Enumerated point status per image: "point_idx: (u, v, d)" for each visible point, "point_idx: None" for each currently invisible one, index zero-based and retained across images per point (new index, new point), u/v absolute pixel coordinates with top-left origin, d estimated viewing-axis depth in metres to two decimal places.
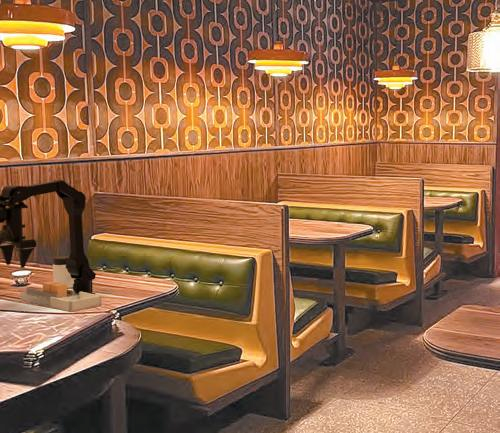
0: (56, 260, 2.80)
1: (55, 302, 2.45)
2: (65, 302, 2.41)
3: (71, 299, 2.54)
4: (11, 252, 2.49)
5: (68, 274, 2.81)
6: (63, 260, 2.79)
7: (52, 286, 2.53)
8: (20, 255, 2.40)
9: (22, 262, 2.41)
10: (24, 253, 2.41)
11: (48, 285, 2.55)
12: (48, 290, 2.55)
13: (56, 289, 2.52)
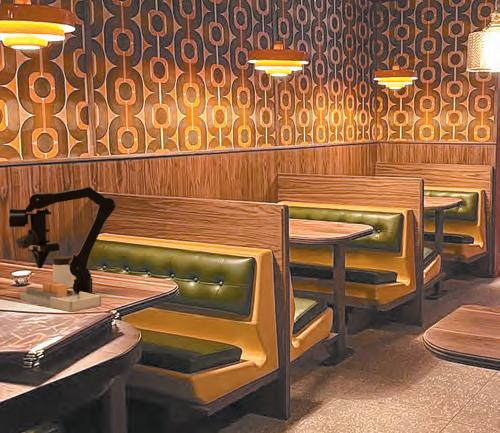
0: (56, 260, 2.80)
1: (55, 302, 2.45)
2: (65, 302, 2.41)
3: (71, 299, 2.54)
4: None
5: (68, 274, 2.81)
6: (63, 260, 2.79)
7: (52, 286, 2.53)
8: (38, 256, 2.60)
9: (40, 263, 2.61)
10: (41, 255, 2.61)
11: (48, 285, 2.55)
12: (48, 290, 2.55)
13: (56, 289, 2.52)
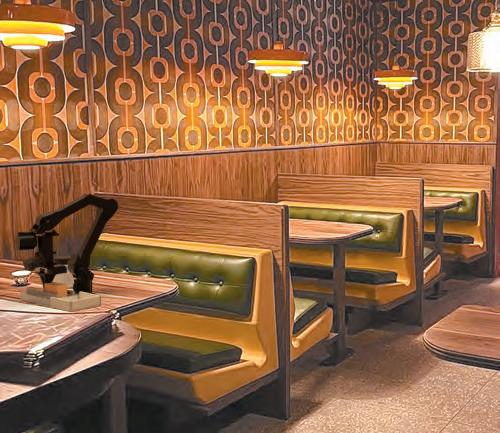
0: (56, 260, 2.80)
1: (55, 302, 2.45)
2: (65, 302, 2.41)
3: (71, 299, 2.54)
4: None
5: (68, 274, 2.81)
6: (63, 260, 2.79)
7: (52, 286, 2.53)
8: (45, 279, 2.57)
9: None
10: (48, 277, 2.58)
11: (49, 285, 2.54)
12: (49, 290, 2.54)
13: (56, 289, 2.52)
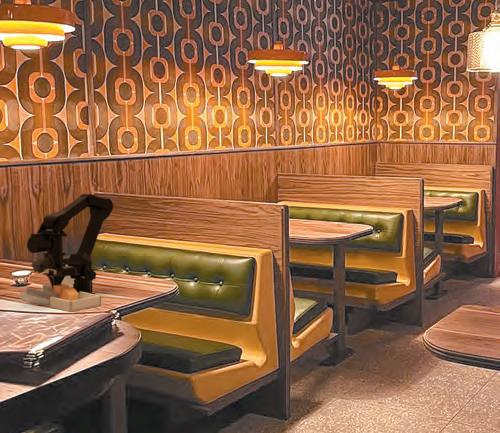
0: None
1: (55, 302, 2.45)
2: (65, 302, 2.41)
3: None
4: None
5: None
6: (63, 260, 2.79)
7: (64, 291, 2.48)
8: (54, 280, 2.53)
9: None
10: (57, 279, 2.54)
11: (58, 287, 2.50)
12: (58, 293, 2.51)
13: (67, 296, 2.47)
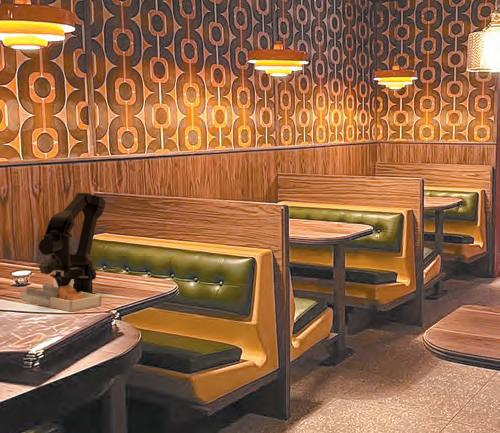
0: None
1: (55, 302, 2.45)
2: (65, 302, 2.41)
3: None
4: None
5: None
6: None
7: (72, 297, 2.45)
8: (61, 282, 2.51)
9: None
10: (65, 280, 2.52)
11: (65, 292, 2.48)
12: (64, 296, 2.48)
13: None
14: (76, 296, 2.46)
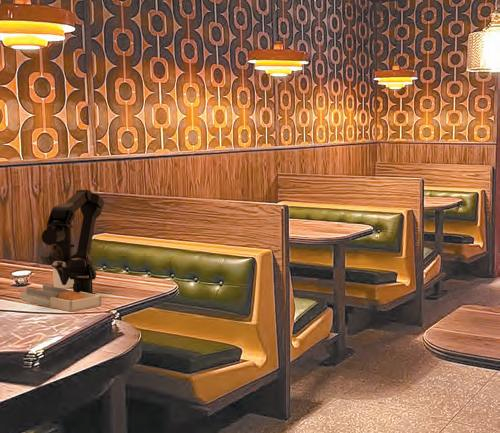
0: None
1: (55, 302, 2.45)
2: (65, 302, 2.41)
3: None
4: None
5: None
6: None
7: (73, 298, 2.45)
8: (62, 273, 2.49)
9: (64, 279, 2.51)
10: (66, 271, 2.50)
11: (66, 295, 2.48)
12: None
13: None
14: (77, 296, 2.46)
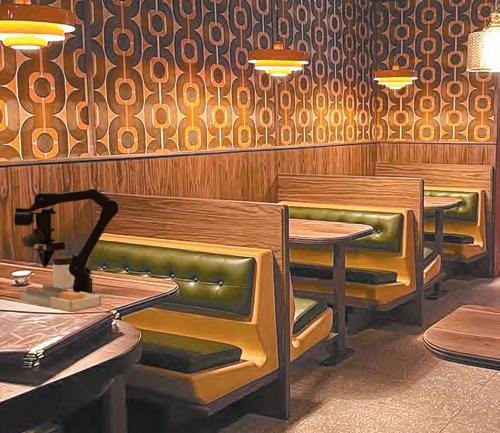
0: (56, 260, 2.80)
1: (55, 302, 2.45)
2: (65, 302, 2.41)
3: None
4: None
5: (68, 274, 2.81)
6: (63, 260, 2.79)
7: (73, 298, 2.45)
8: (43, 255, 2.63)
9: (45, 262, 2.64)
10: (47, 253, 2.64)
11: (66, 295, 2.48)
12: None
13: None
14: (77, 296, 2.46)
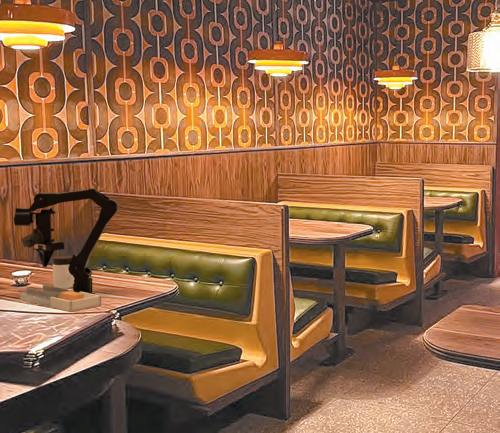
0: (56, 260, 2.80)
1: (55, 302, 2.45)
2: (65, 302, 2.41)
3: None
4: None
5: (68, 274, 2.81)
6: (63, 260, 2.79)
7: (73, 298, 2.45)
8: (43, 255, 2.63)
9: (45, 262, 2.64)
10: (46, 253, 2.64)
11: (66, 295, 2.48)
12: None
13: None
14: (77, 296, 2.46)
